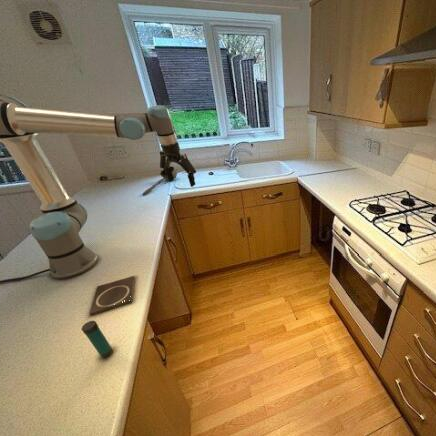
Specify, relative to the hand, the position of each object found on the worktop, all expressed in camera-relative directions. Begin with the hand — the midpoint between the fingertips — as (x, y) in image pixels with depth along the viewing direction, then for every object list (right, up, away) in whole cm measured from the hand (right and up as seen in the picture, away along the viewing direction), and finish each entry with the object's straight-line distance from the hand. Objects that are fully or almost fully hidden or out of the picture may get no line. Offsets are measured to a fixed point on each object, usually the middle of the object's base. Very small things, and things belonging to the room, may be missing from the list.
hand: (182, 183), depth 123 cm
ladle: (-45, +7, +62) cm, 77 cm away
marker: (+4, -56, -56) cm, 79 cm away
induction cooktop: (-8, -46, -37) cm, 59 cm away
